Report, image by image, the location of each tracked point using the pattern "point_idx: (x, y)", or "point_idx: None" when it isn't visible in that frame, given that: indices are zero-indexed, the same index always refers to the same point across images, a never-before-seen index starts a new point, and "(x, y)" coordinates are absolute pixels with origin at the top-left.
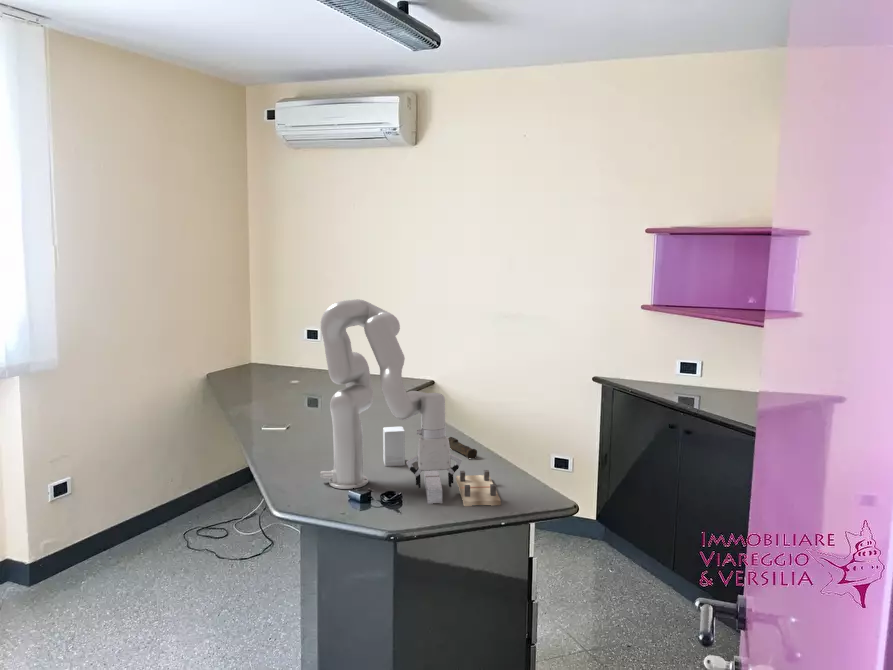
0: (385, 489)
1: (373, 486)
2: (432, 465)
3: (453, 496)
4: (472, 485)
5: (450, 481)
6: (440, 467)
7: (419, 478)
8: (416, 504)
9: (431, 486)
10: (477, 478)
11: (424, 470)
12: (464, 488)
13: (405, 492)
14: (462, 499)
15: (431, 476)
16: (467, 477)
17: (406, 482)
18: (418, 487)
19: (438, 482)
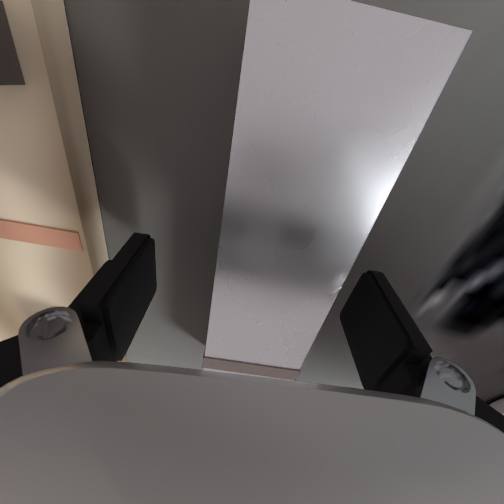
0: (463, 350)
1: (483, 382)
2: (340, 491)
3: (146, 172)
4: (5, 260)
5: (123, 257)
6: (177, 414)
7: (409, 330)
8: (478, 70)
9: (350, 165)
10: (3, 337)
11: (432, 401)
12: (51, 225)
13: (402, 301)
14: (64, 45)
15: (258, 366)
16: None
17: (334, 383)
18: (382, 277)
19: (238, 258)
